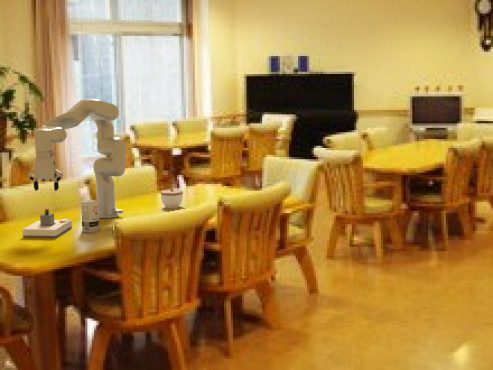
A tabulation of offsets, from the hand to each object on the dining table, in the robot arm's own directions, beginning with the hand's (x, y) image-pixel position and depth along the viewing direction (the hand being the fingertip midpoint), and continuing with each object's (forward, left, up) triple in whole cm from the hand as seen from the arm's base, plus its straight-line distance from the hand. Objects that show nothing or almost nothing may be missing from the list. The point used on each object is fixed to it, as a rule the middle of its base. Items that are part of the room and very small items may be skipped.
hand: (46, 190), depth 347 cm
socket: (0, 0, -21) cm, 21 cm away
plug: (0, 0, -20) cm, 20 cm away
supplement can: (-20, -4, -21) cm, 29 cm away
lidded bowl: (-47, -68, -21) cm, 85 cm away
